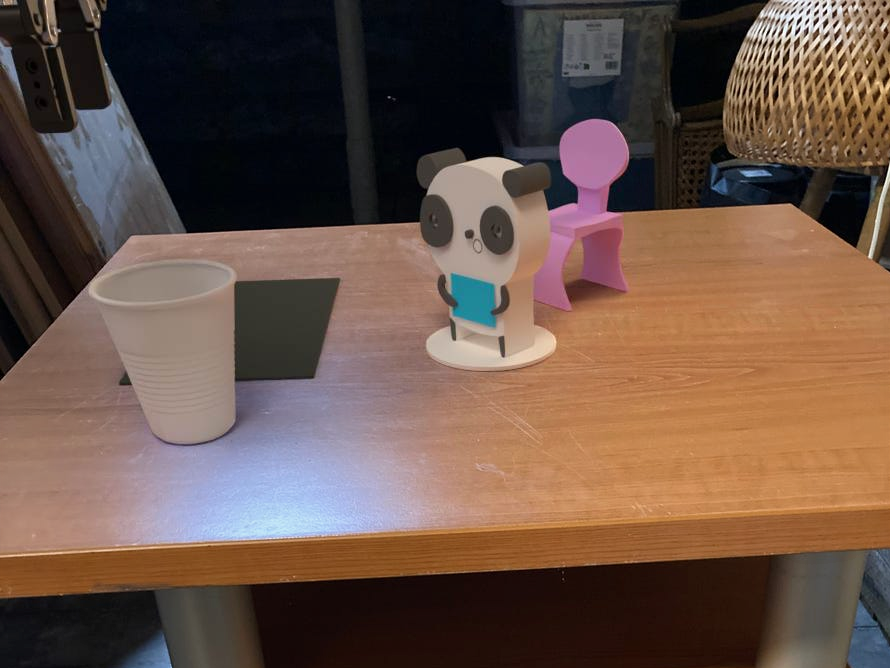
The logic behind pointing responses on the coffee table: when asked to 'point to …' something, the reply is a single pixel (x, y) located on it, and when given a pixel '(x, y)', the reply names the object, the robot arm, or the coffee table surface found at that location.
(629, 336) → the coffee table surface
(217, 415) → the cup
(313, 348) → the mat
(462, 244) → the panda figurine
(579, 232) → the toy chair
